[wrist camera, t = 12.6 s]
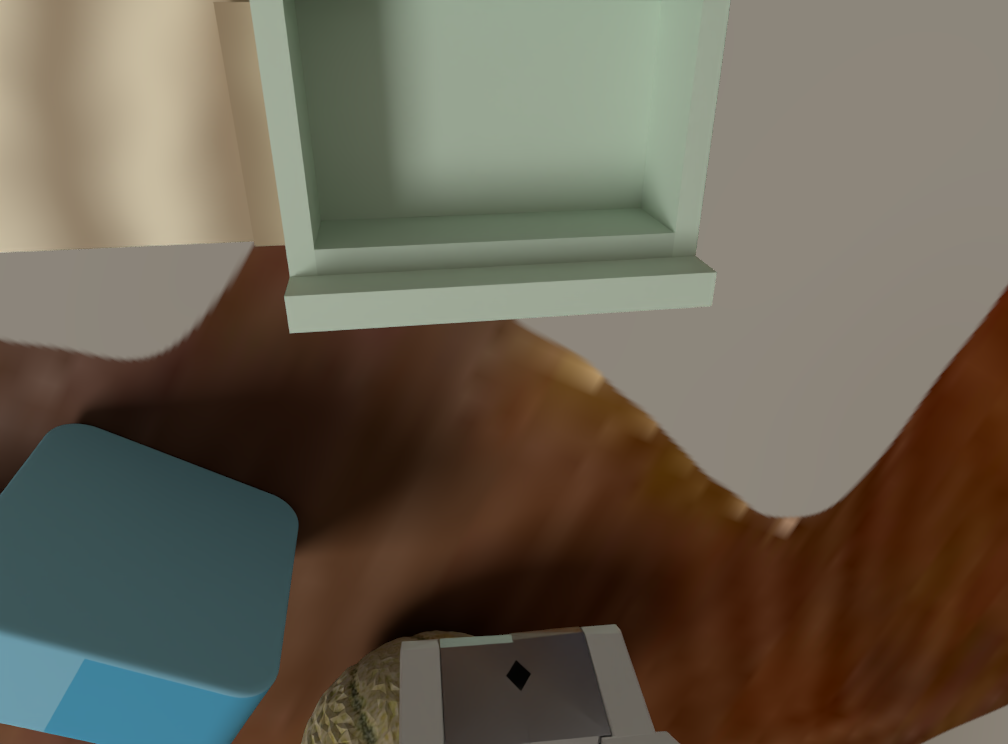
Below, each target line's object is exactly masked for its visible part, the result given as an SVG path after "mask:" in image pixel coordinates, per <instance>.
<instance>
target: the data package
mask: <svg viewBox="0 0 1008 744" xmlns="http://www.w3.org/2000/svg"><path fill="white" fill-rule="evenodd" d="M298 525H299V523H298V518H297V516H296V514H295V512H294V510H293V509H292V508H291V507H290V506H289V505H288V504H287V503H286V502H285V501H283V500H282V499H280V498H279V497H277V496H275V495H272V494H270V493H267V492H264V491H262V490H259V489H257V488H254V487H251V486H249V485H246V484H244V483H241V482H238V481H236V480H233V479H230V478H228V477H225V476H223V475H220V474H217V473H215V472H212V471H210V470H207V469H204V468H202V467H199V466H197V465H194V464H191V463H189V462H186V461H184V460H181V459H178V458H176V457H173V456H170V455H168V454H165V453H163V452H160V451H157V450H155V449H152V448H150V447H147V446H144V445H142V444H139V443H137V442H134V441H131V440H129V439H126V438H123V437H121V436H118V435H116V434H113V433H110V432H108V431H105V430H103V429H100V428H97V427H94V426H90V425H85V424H65V425H61V426H58V427H56V428H54V429H52V430H50V431H49V432H48V433H47V434H46V435H45V437H44V438H43V439H42V440H41V442H40V443H39V444H38V446H37V447H36V448H35V450H34V451H33V452H32V454H31V455H30V456H29V458H28V459H27V460H26V462H25V463H24V464H23V465H22V467H21V468H20V469H19V471H18V472H17V473H16V475H15V476H14V477H13V479H12V480H11V481H10V483H9V484H8V485H7V487H6V488H5V489H4V490H3V492H2V493H1V494H0V723H4V724H8V725H13V726H18V727H22V728H27V729H32V730H36V731H41V732H46V733H50V734H55V735H60V736H64V737H69V738H74V739H78V740H83V741H88V742H92V743H97V744H231V742H232V741H233V740H234V738H235V737H236V735H237V734H238V732H239V731H240V730H241V728H242V727H243V725H244V724H245V722H246V721H247V720H248V718H249V717H250V715H251V714H252V713H253V711H254V710H255V708H256V707H257V705H258V704H259V703H260V701H261V700H262V698H263V697H264V695H265V694H266V693H267V691H268V690H269V688H270V687H271V686H272V684H273V683H274V681H275V679H276V677H277V674H278V671H279V665H280V658H281V651H282V643H283V636H284V629H285V621H286V614H287V607H288V600H289V592H290V585H291V578H292V570H293V563H294V556H295V549H296V541H297V534H298Z"/></svg>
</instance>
